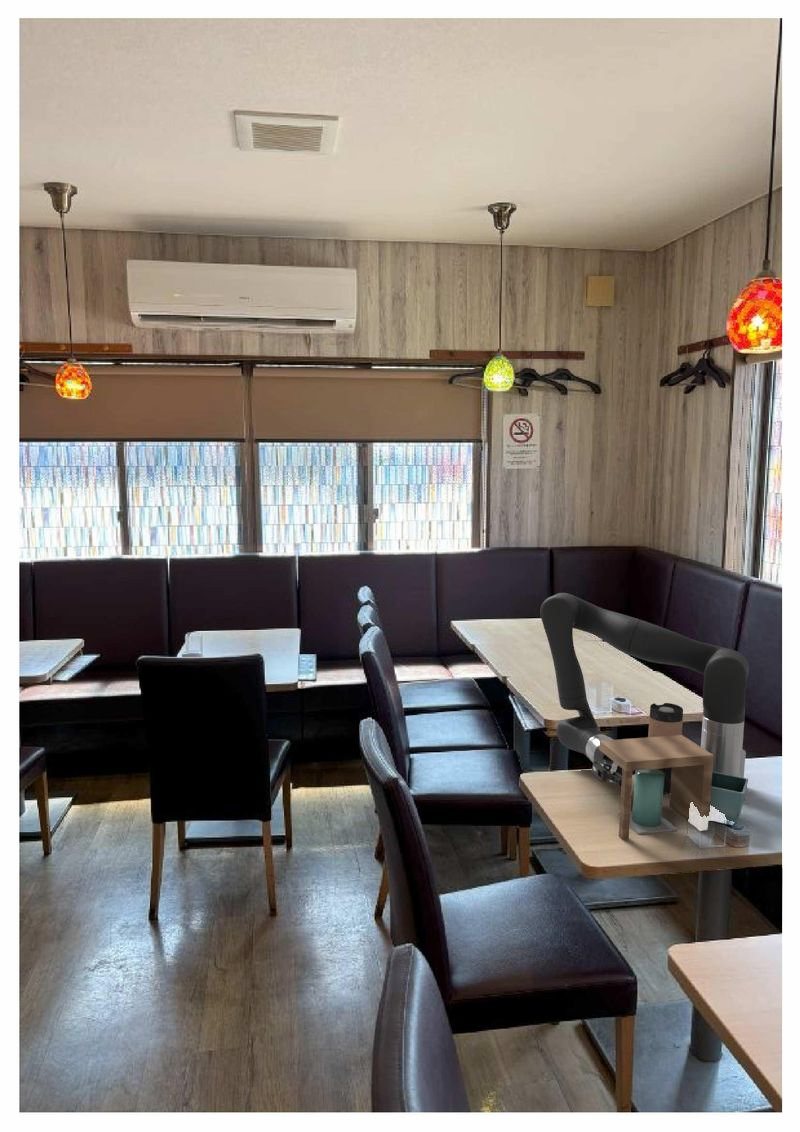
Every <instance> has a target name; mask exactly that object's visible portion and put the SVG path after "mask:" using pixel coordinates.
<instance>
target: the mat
mask: <svg viewBox="0 0 800 1132" xmlns="http://www.w3.org/2000/svg"><path fill="white" fill-rule="evenodd" d="M632 813H633V811H630V827H629V828H631V829H632V830H633V831H634V830H635V831H634V832H635V833H636V832H637V833H638V834H637V833H636V834H637V835H642V834H643V835H644V834H646V835H647V834H653V833H655V834H656V833H665V832H672V831H673V832H674V831H678V828H677V827H676V826H674V825H673V824H672V823H671V822H670V821H669V820H667V819H666V817H664V816H663V815H661V824H660V825H659V826H656V827H645V826H641V825H639V824H637V823H635V822H634V821H633V820H632ZM617 816H618V817H619V818H620V812H618V813H617Z"/></svg>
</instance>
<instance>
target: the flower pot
mask: <svg viewBox="0 0 800 1132" xmlns="http://www.w3.org/2000/svg"><path fill="white" fill-rule="evenodd" d="M748 783H749V779H748V778H745V777H744V778H742V777H737V776H731V775H726V774H722V773H717V772H712V783H711V798H710V805H711V806H713V807H715V809H717V810H719V812H721V813H723V814H725V817H726V819H727V820H729V821H733V822H736V823H737V821H738V820H739V818H740V815H741V812H742V809H743V806H744V802H745V798H746V793H747V788H748Z"/></svg>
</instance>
